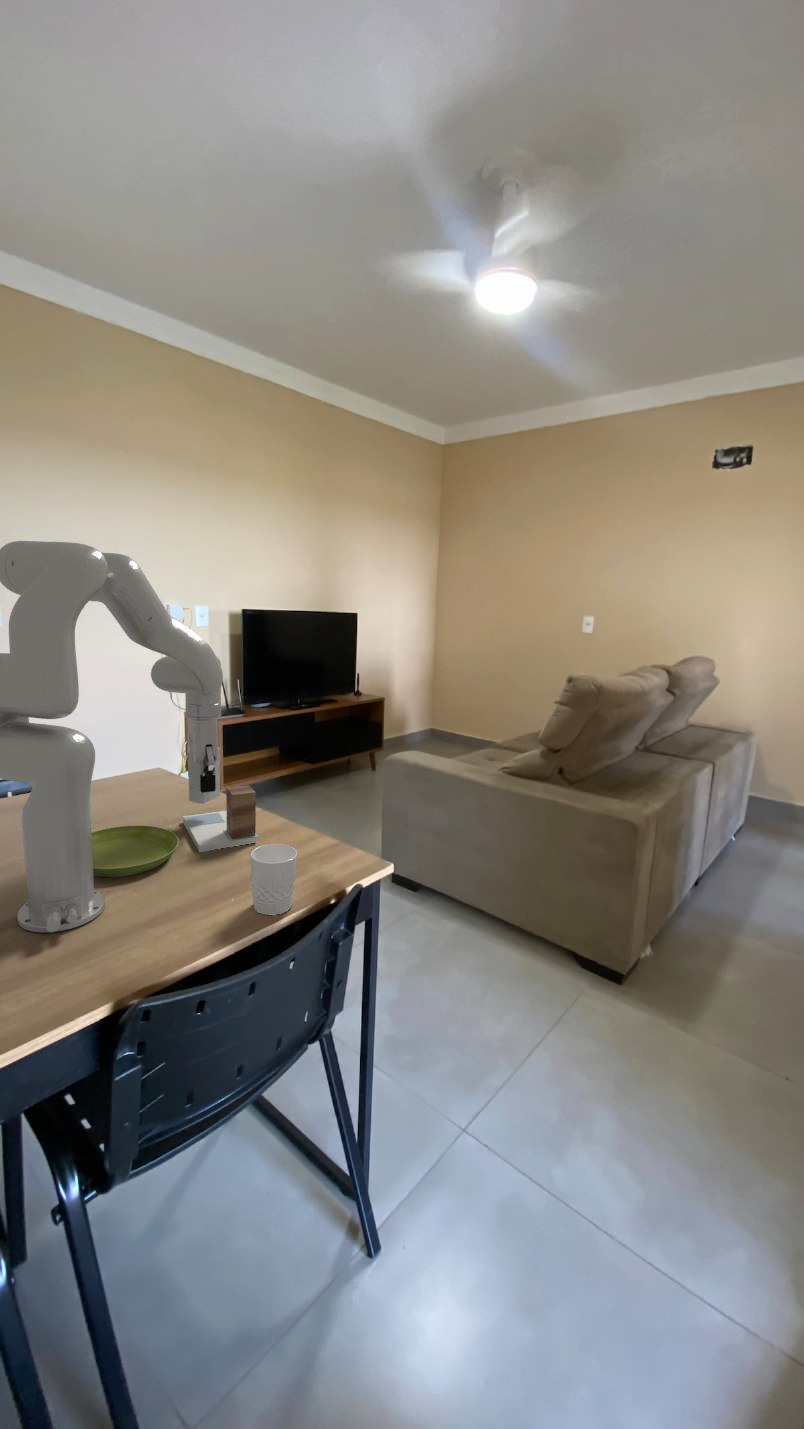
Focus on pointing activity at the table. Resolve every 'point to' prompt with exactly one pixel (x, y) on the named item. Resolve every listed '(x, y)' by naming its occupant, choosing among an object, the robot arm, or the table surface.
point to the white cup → (273, 878)
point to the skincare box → (194, 781)
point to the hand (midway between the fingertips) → (204, 785)
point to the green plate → (130, 849)
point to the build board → (212, 831)
